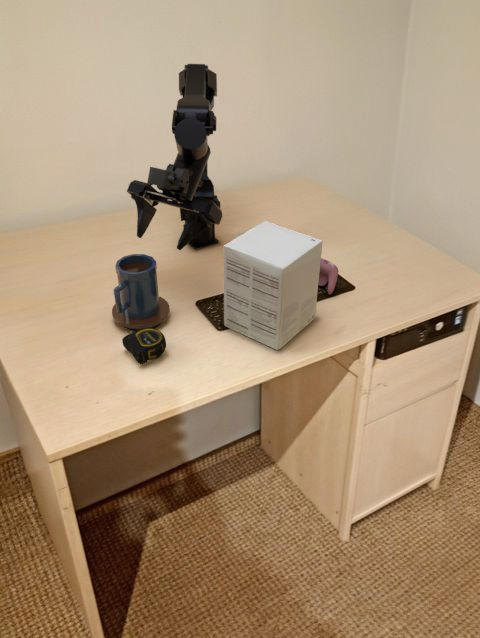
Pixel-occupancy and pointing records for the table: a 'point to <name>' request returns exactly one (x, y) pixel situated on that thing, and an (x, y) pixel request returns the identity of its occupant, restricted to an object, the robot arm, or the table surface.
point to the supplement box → (271, 283)
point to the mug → (138, 293)
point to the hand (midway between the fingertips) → (158, 243)
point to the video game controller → (328, 275)
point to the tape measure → (145, 344)
